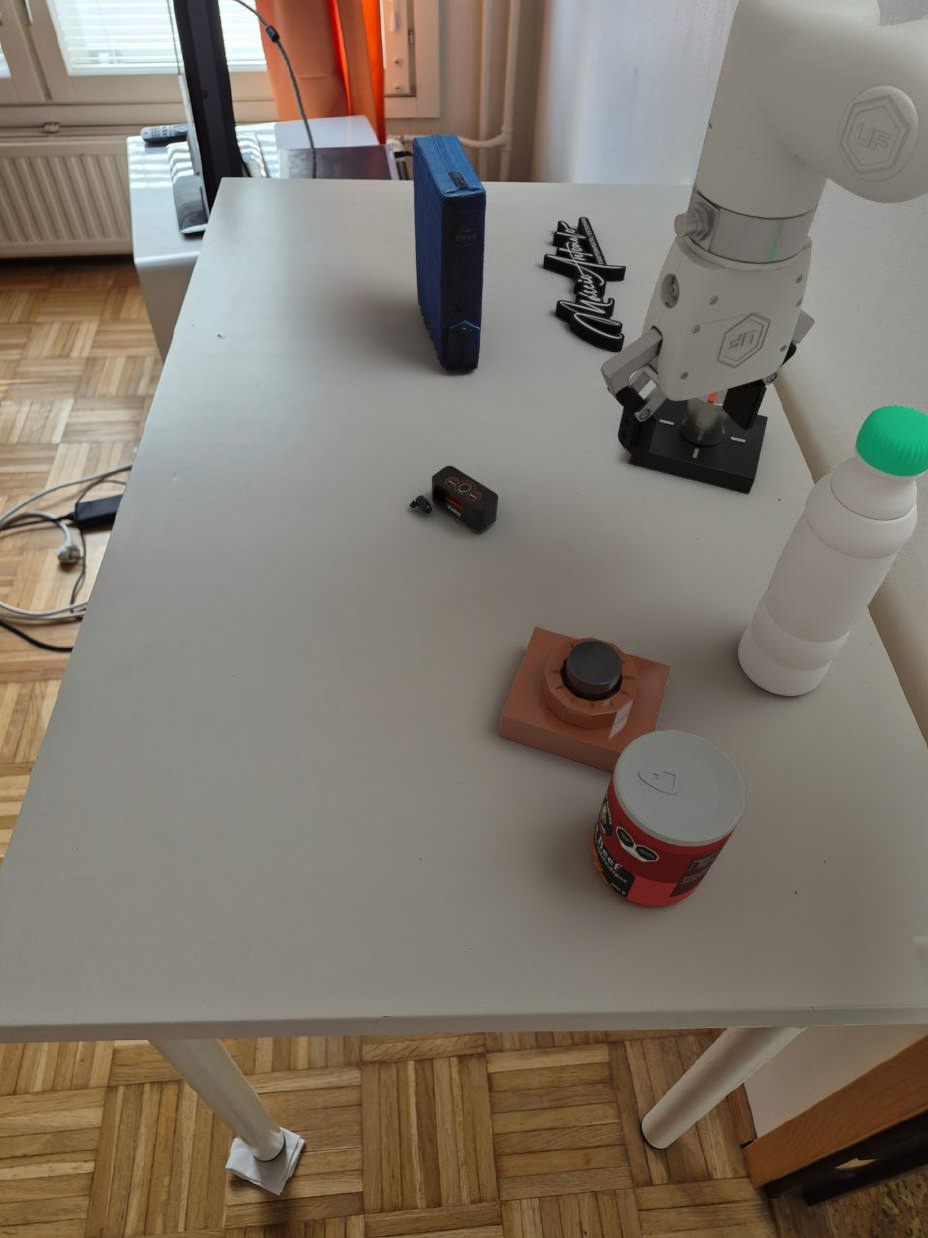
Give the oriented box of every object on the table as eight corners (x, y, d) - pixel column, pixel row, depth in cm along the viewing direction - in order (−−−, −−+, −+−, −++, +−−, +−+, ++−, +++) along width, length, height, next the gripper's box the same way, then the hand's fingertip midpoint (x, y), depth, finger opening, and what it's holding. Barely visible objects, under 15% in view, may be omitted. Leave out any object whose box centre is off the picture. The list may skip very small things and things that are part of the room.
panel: (762, 431, 92) (768, 415, 90) (749, 494, 86) (755, 477, 84) (649, 404, 94) (653, 387, 92) (628, 463, 88) (632, 446, 86)
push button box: (662, 687, 71) (676, 650, 67) (638, 781, 66) (651, 746, 62) (531, 648, 73) (537, 610, 69) (498, 736, 68) (503, 700, 64)
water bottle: (788, 715, 70) (929, 479, 51) (718, 659, 73) (825, 418, 54) (838, 668, 73) (990, 430, 54) (769, 617, 76) (888, 374, 57)
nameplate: (657, 338, 99) (569, 342, 98) (654, 350, 100) (568, 353, 99) (604, 215, 116) (529, 217, 115) (602, 227, 117) (528, 229, 116)
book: (485, 374, 96) (497, 190, 81) (438, 380, 95) (440, 195, 80) (455, 301, 105) (460, 122, 89) (411, 306, 104) (408, 126, 88)
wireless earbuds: (442, 485, 85) (442, 459, 83) (498, 521, 82) (501, 496, 80) (408, 510, 83) (408, 484, 80) (465, 548, 80) (467, 523, 78)
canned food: (585, 805, 65) (610, 725, 56) (694, 810, 65) (736, 731, 56) (591, 908, 60) (619, 839, 51) (709, 914, 60) (757, 845, 51)
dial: (685, 412, 90) (697, 369, 86) (728, 424, 89) (742, 380, 85) (675, 438, 88) (687, 394, 83) (719, 450, 87) (733, 407, 83)
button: (622, 665, 67) (627, 649, 65) (610, 707, 65) (615, 691, 63) (571, 650, 68) (575, 633, 66) (558, 690, 65) (561, 675, 64)
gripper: (664, 276, 51) (614, 495, 64) (896, 221, 55) (804, 435, 69) (597, 215, 55) (563, 433, 68) (819, 169, 60) (746, 381, 73)
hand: (685, 434), depth 68 cm, fingers open, 9 cm apart
